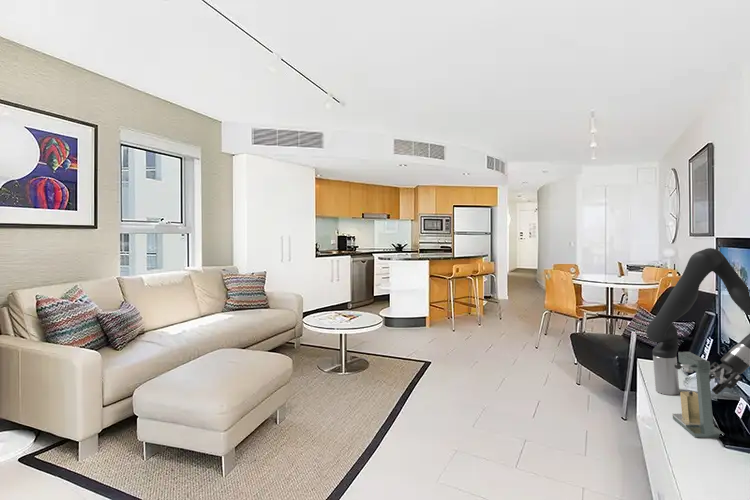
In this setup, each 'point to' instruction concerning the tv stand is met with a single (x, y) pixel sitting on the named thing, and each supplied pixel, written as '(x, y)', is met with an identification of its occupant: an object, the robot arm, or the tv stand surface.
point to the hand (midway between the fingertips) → (707, 388)
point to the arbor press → (704, 397)
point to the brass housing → (690, 406)
